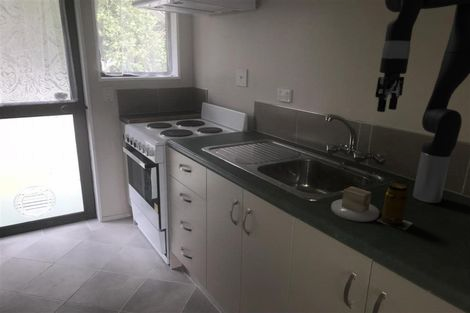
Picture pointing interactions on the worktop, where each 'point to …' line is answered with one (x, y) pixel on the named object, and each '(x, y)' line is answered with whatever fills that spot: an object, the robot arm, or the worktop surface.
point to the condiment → (395, 206)
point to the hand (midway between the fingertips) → (386, 110)
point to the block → (356, 199)
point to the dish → (355, 216)
